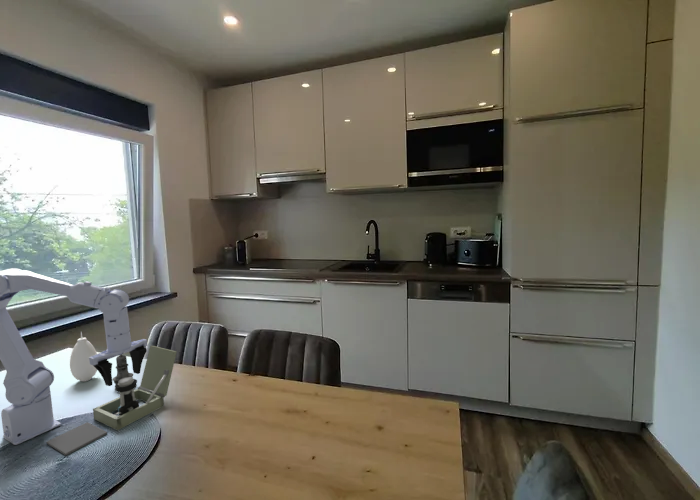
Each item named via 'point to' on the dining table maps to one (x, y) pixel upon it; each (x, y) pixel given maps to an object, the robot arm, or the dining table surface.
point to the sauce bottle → (82, 360)
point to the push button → (126, 395)
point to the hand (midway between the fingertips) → (123, 378)
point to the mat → (76, 438)
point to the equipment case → (142, 390)
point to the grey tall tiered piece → (121, 369)
